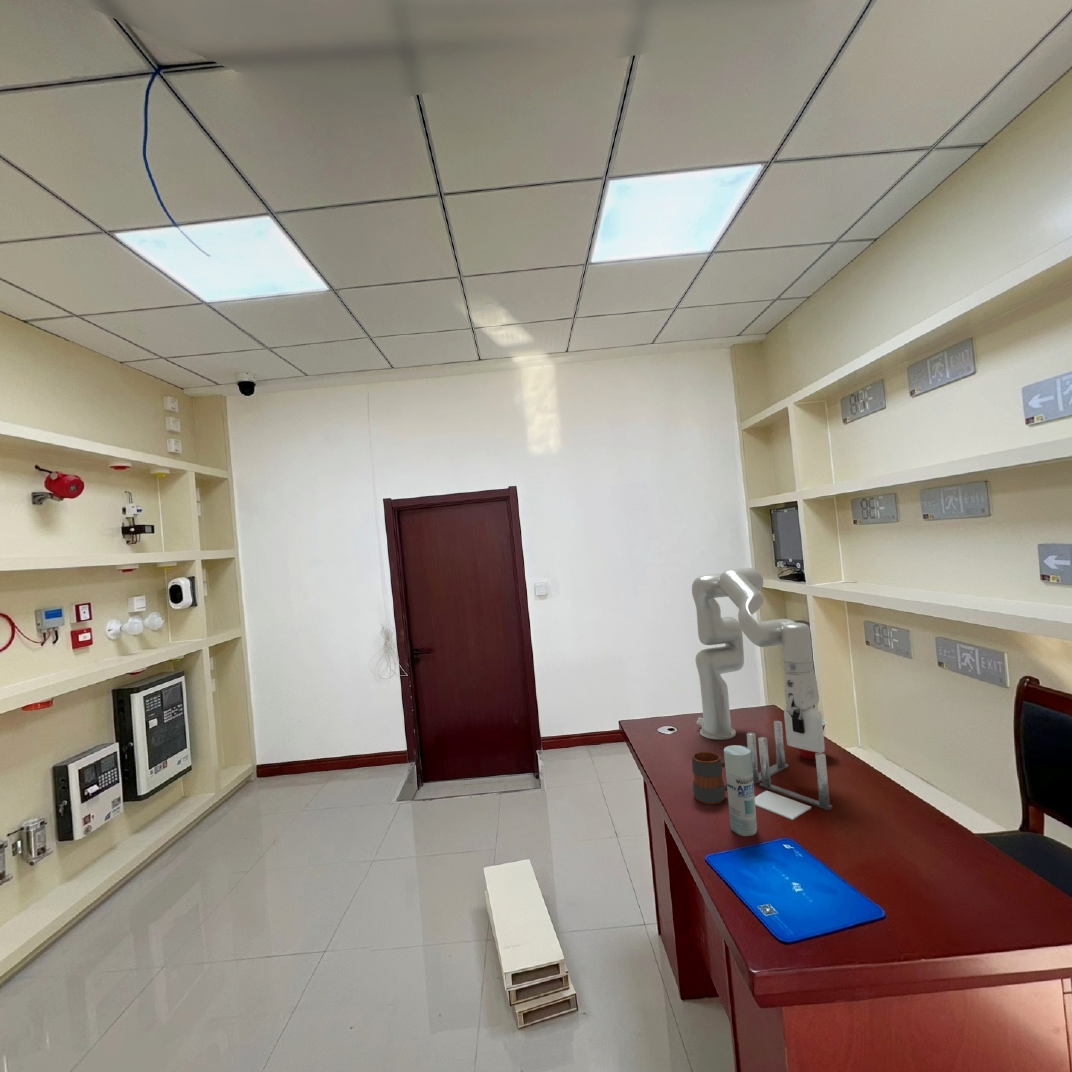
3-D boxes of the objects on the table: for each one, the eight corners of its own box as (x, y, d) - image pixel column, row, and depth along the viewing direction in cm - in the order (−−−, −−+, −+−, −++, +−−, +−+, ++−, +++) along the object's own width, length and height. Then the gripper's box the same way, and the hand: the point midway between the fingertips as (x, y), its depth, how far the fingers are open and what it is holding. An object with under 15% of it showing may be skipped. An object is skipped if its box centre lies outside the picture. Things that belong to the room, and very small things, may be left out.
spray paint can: (744, 820, 142) (738, 743, 142) (763, 832, 136) (756, 751, 136) (724, 827, 139) (718, 748, 140) (742, 839, 133) (736, 757, 134)
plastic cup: (837, 760, 172) (833, 722, 173) (804, 764, 172) (800, 726, 172) (817, 747, 183) (814, 712, 183) (786, 751, 183) (783, 715, 183)
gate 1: (747, 780, 164) (743, 733, 164) (779, 763, 174) (776, 719, 174) (756, 783, 162) (752, 736, 162) (788, 766, 171) (784, 721, 171)
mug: (741, 804, 150) (737, 762, 150) (696, 805, 151) (692, 763, 152) (734, 790, 158) (730, 750, 159) (691, 791, 160) (688, 751, 160)
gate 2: (759, 786, 160) (755, 738, 160) (764, 783, 161) (760, 736, 161) (828, 810, 143) (823, 757, 144) (832, 807, 145) (828, 754, 145)
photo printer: (784, 746, 160) (780, 703, 160) (791, 741, 163) (787, 700, 163) (820, 754, 152) (816, 710, 152) (827, 750, 155) (823, 706, 155)
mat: (747, 802, 151) (747, 801, 151) (766, 791, 156) (766, 790, 156) (792, 820, 140) (792, 818, 140) (811, 808, 145) (811, 806, 145)
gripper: (794, 674, 150) (800, 741, 149) (827, 662, 159) (832, 725, 159) (769, 670, 156) (774, 734, 156) (802, 659, 165) (807, 719, 165)
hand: (803, 729), depth 157 cm, fingers closed on photo printer, 4 cm apart
